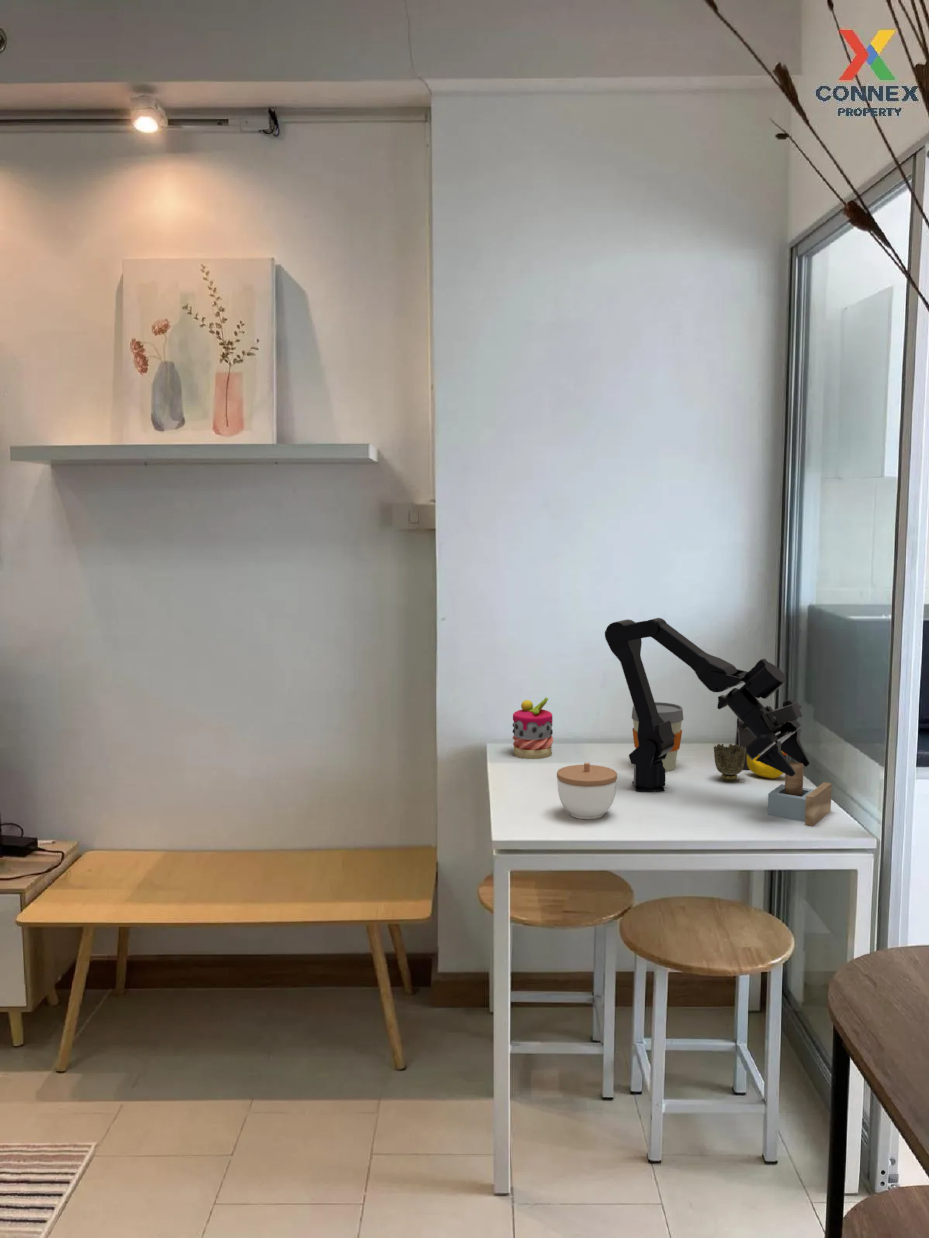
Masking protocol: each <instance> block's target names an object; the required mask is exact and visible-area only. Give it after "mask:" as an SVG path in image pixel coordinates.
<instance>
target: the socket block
mask: <svg viewBox="0 0 929 1238" xmlns="http://www.w3.org/2000/svg"><path fill="white" fill-rule="evenodd" d="M813 790H815V788H814V789H812V788H806V787H803V796H802V797H800V796H794V795H788V794H785V784H783V783H781V784H780V785H778V786H777V787H776V788H774V789H772V790H771V791H769V792H768V793H767V795H768V796H767V816H771V817H776V818H780V819H781V818H782V819H788V820H792V821H797V822H798V821H799V822H804V823H805V805H806V796H807V795H808V794H809V793H811V792H812V791H813Z"/></svg>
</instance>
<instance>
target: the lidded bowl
mask: <svg viewBox="0 0 929 1238" xmlns="http://www.w3.org/2000/svg"><path fill="white" fill-rule="evenodd" d="M556 778H557V791H558V797H559V798H558V799H559V801H560V803H561V805H562V806H563V807H564V809H565V810H566V811H567V812H568V814H569V816H571V817H572V818H575V819H579V820H597V819H600V818H602V817H604V814H605V813H607V811H609V809H611V807H612V805H613V804H614V800H615V798H616V791H617V780H618V774H617V771H616V770H615V769H613V768H610V767H606V766H603V765H595V764H590V762H584V763H583V764H575V765H568V766H564V767H561V768H559V769H558V770H557V772H556Z"/></svg>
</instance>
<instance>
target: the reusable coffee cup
mask: <svg viewBox="0 0 929 1238" xmlns="http://www.w3.org/2000/svg"><path fill="white" fill-rule="evenodd" d="M654 702H655V705H656V708H657V711H658V714H659V716H660V717H661V719H662V720H663V721H664V722H666V721H670V722H671V726H672V731H673V733H674V735H675V736H676V737H675V738H674V746H673V748H672V750H671V751H670V752H668V753H667V756H666V758H665V759H663V760H662V762H663V767H664V768H665V772H670V771H674V770H675V769H676V765H677V764H676V762H677V757H678V751H679V750H680V748H681V742H682V735H683V730H682V722H683V721H684V709H683V706H681V705H679V704H675V703H672V702H671V703H670V702H659V701H658V702H657V701H654ZM631 711H632V712H631V719H632V723H633V727H632V737H633V739H632V740H633V745H634V746H633V747H634V749H636V748H637V747H638V746H639V744H638V737H637V732H638V718H637V714H636V711H635V708H634V705H633V706H632V710H631Z"/></svg>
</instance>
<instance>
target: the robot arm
mask: <svg viewBox="0 0 929 1238" xmlns="http://www.w3.org/2000/svg"><path fill="white" fill-rule="evenodd" d="M644 638H645V639H646V638H652V639H654V641H656V642H657V643H659V645H661V646H662V647H664V648H665V649H666V650H667V651H669V652H670V653H672V654H673V655H674V656H676V657H677V658H678V659H680V661H682V662H683V663H685V664H686V665H687V666H688V667H689V668H691V669H692V670H693V671H694V674H695V675H696V676H697V678H698V680H699V681H700V682H701V683H702V684H703V686H704V687H706V689H707V690H708V691H710V692H712V693H722V692H724V691H726V690H729V689H731V688H732V689H731V690H730V691H729V692H728V693H726V694H725V695H724V694H720V695H718V697H717V700H718V701H717V706H716V708H717V709H718V710H722V709H723V708H726V707H728V708H729V710H731V711H732V713H734V715H735V716H736V718H739V719H740V720H741V722H742V723H743V724H742V725H741V727H742V728H743V729H746V728H747V729H748V730H749V731H750V732H751V733H752V734H753V736H754V737H755V738H756V739H755V740H754V741H753V742H751V743H750V744H749V745H748V746H747V747H746V754H747V755H748V756H749V757H750V758H751V760H753V759H754V758H756V757H757V756H758V755H760V757H758V758H757V759H756V761H757V762H758V761H760V762H762V763H764V764H766V765H769V766H771V767H773V768H775V769H777V770H779V771H781V772H783V774H784V775H785V774H787V775H789V776H791V777H792V776H794V775H795V771H794V770H793V768H792V766H791V765H790V764H789V762H790V761H789V760H788V759H787V758H786V756H789V757H790V758H791V759H793V760H795V762H799V763H802V764H804V766H803V767H806V768H807V767H808V766H809V765H810V764H811V763H810V760H809V758H808V756H807V754H806V751H805V750H804V748H803V745H802V743H801V741H800V737H801V736H800V735H801V732H802V729H801V727H802V724H801V723H800V722H798V720H799V718H802V717H803V714H802V712H801V709H802V705H800V704H799V703H798V701H795V700H794V699H793V698H790V699H787V700H784V701H782V706H781V707H778V708H776V709H773V708H772V707H771V706H768V705H767V706H764V704H762V702H761V701H760V698H762V699H765V700H766V699H768V698H769V697H770V696H772V695H773V694H774V693H775V692H776V691H777V690H779V689H780V688H781V687H782V686H783V685H784V684H785V683H786V682H787V679H786V676H785V674H784V672H783V671H782V670H781V669H780V667H777V666H776V665H774V664H773V663H772V662H769V661H768V660H767V659H766V658H761V659H759V661H757V662H756V664H755V665H754V666H753V667H752V668H751V669H750V670H749V671H747V670H742V669H737V667H736V666H735V665H734V664H732V663H731V662H728V661H726V660H725V659H722V658H721V657H718V656H714V655H712V654H709V653H708V652H706V651H704V650H703V649H702V648H700V647H699V646H697V645H696V644H695V643H694V642H692V641H691V640H690V639H689V638H687V637H686V636H685V635H683V634H682V633H680V632H679V631H678V630H677V629H675V628H673V627H672V626H671V625H670V624H669V623H667V621H666V620H665V619H664V618H661V617H657V618H652V619H649V620H642V621H637V622H636V621H633V619H621V620H618V621H614V622H611V623H609V625H608V626H607V627H606V629H605V631H604V639H605V641H606V643H607V645H608V647H609V649H610V651H611V652H612V654H613V655H614V656H615V658H617V659H618V660H619V662H620V665H621V668H622V671H623V675H624V679H625V681H626V684H627V687H628V691H629V694H630V698H631V701H632V705H633V706H634V708H635V711H636V714H637V718H638V732H637V737H638V744H639V746H638V747H637V748H634V750H632V752H630V753H629V754H628V758H629V762H630V764H631V765H633V781H631V784H632V786H633V788H634V791H635V792H665V786H666V771H665V768H664V767H663V762H662V760H663V759H665V758H666V756H667V753H668V752H670V751H671V750H672V748H673V746H674V738H675V737H676V736H675V735H674V733H673V731H672V726H671V722H670V721H666V722H664V721H663V720H662V719H661V717H660V716H659V714H658V711H657V708H656V705H655V702H656V701H655V698H654V696H653V693H652V690H651V686H650V683H649V680H648V677H647V673H646V670H645V667H644V663H643V661H642V656H641V652H642V643H643V642H642V639H644ZM743 683H744V684H743ZM741 684H743V685H742V686H741V687H740V688H737V687H736V686H739V685H741ZM781 751H783V752H784V753H786V754H787V755H783V753H782V752H781Z"/></svg>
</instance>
